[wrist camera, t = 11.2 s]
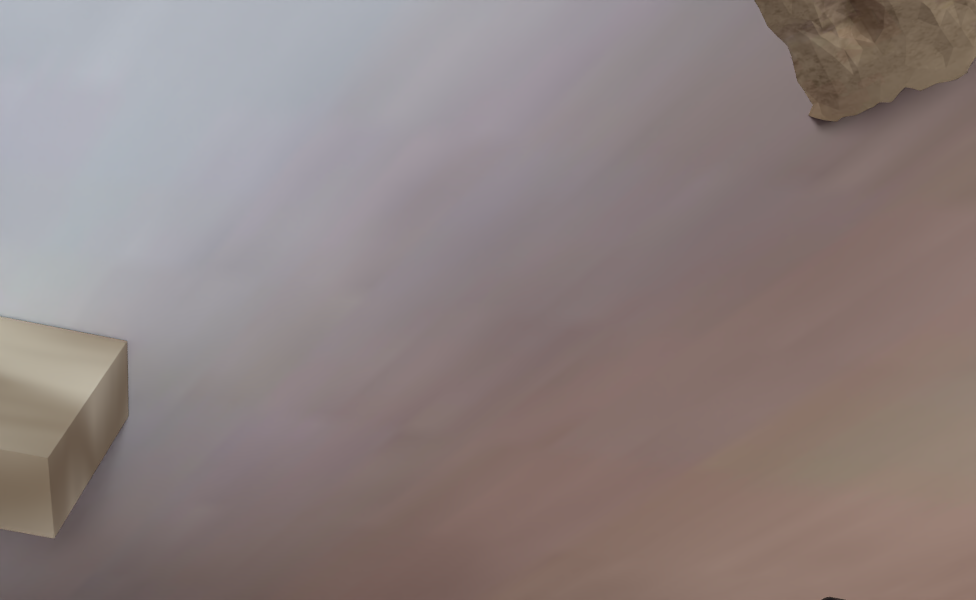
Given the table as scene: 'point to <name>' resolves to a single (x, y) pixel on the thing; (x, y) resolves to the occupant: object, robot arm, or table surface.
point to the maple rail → (54, 419)
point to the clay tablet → (872, 47)
